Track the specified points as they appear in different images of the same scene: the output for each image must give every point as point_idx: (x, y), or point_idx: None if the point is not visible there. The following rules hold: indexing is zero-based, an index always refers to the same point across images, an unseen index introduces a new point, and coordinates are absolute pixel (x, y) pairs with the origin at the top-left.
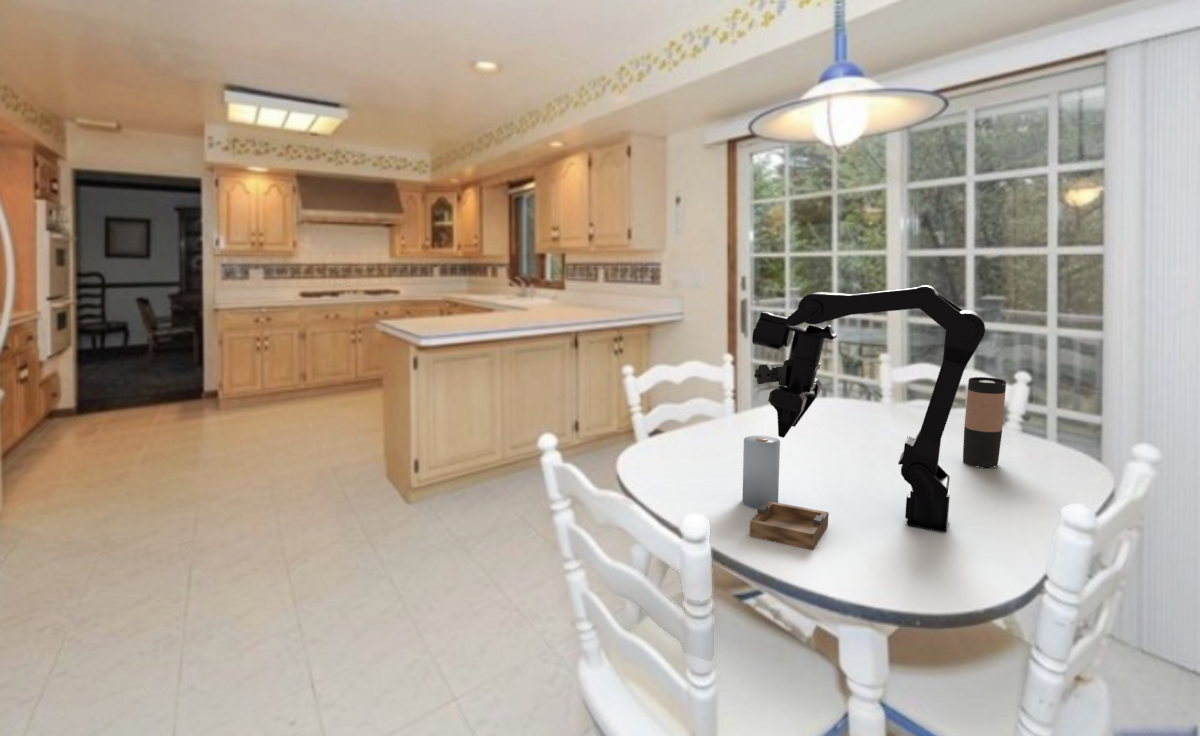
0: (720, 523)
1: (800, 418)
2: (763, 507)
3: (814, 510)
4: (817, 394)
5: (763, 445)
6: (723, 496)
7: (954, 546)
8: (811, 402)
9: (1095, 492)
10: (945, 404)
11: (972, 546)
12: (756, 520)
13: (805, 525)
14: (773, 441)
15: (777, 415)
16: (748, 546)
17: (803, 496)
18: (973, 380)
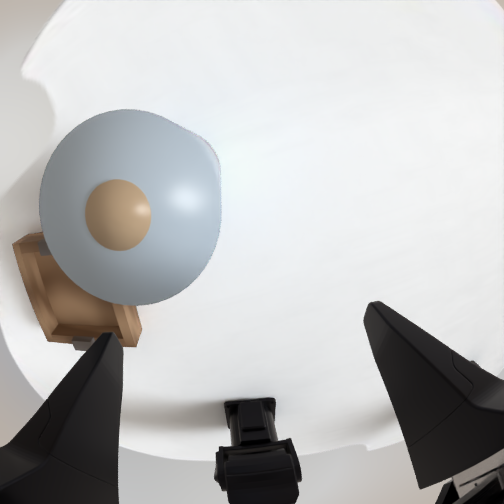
0: (36, 163)
1: (381, 373)
2: (48, 250)
3: (125, 326)
4: (448, 482)
5: (54, 258)
6: (167, 82)
7: (195, 431)
8: (414, 465)
9: (395, 441)
10: None
11: (208, 439)
12: (20, 251)
13: (101, 307)
14: (136, 275)
15: (25, 425)
16: (8, 247)
17: (273, 248)
18: None
